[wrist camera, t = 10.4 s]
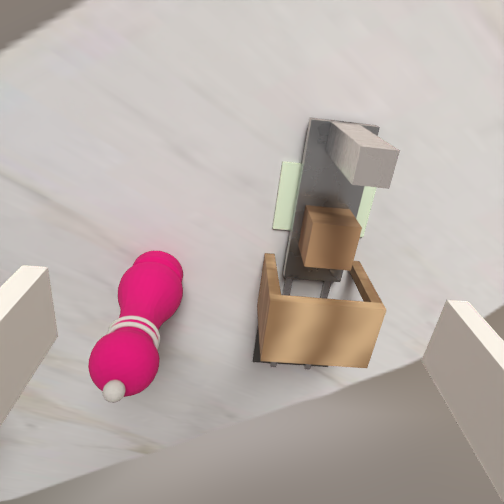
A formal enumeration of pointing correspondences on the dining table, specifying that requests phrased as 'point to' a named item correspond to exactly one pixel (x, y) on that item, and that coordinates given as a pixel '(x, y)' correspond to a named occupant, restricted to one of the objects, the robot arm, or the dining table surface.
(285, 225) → the pad
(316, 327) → the tunnel
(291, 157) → the dining table surface
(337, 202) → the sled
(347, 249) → the block
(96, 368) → the pepper mill
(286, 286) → the rails
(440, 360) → the robot arm
